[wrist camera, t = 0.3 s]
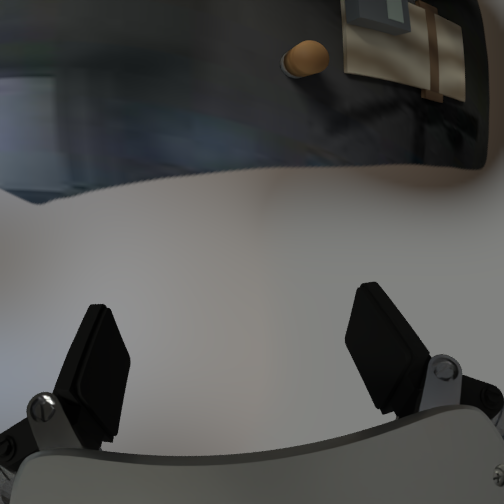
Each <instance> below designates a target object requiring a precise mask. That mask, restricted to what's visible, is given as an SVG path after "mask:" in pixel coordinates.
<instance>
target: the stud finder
mask: <svg viewBox="0 0 504 504" xmlns="http://www.w3.org/2000/svg"><path fill="white" fill-rule="evenodd" d="M345 8H346V21H347V24H351V25H356V26H360V27H365V28H369V29H373V30H377V31H380V32H384V33H388V34H391V35H394V36H397V35H401V34H405V33H409V32H411V25H410V16H409V8H408V0H345Z"/></svg>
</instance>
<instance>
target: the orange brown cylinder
mask: <svg viewBox="0 0 504 504" xmlns="http://www.w3.org/2000/svg"><path fill="white" fill-rule="evenodd" d="M328 63H329V54H328V52H327V50H326V49H325V47H324V46H323V45H321V44H320V43H318V42H316V41H310V40H309V41H304V42H301V43H300V44H298V45H297V46H295V47H294V48H292V49H291V50H290V51H288V52H287V53H285V54H284V55H283V56H282V58H281V60H280V67H281V70H282V71H283V73H284V74H285V75H287V76H288V77H291V78H302V77H305V76H308V75H312V74H315V73H319V72H321V71H323V70H324V69H325V68H326V67H327V66H328Z"/></svg>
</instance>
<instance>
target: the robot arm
mask: <svg viewBox="0 0 504 504" xmlns="http://www.w3.org/2000/svg"><path fill="white" fill-rule="evenodd" d="M345 343H346V346H347V348H348V350H349V352H350V354H351V356H352V358H353V360H354V362H355V365H356V367H357V369H358V371H359V373H360V375H361V377H362V379H363V381H364V383H365V385H366V388H367V390H368V392H369V394H370V396H371V398H372V401H373V403H374V405H375V407H376V408H377V409H380V410H381V412H382V414H387V413H390V412H393V411H394V412H395V414H396V420H394V421H391V422H388V423H385V424H382V425H379V426H376V427H372V428H369V429H366V430H362V431H359V432H356V433H352V434H348V435H345V436H341V437H337V438H333V439H328V440H324V441H320V442H315V443H310V444H305V445H300V446H294V447H289V448H283V449H276V450H270V451H262V452H253V453H243V454H231V455H214V456H156V455H138V454H127V453H117V452H107V451H102V449H101V448H100V447H101V444H102V441H104V442H113V438H114V436H116V435H117V433H118V428H119V422H120V416H121V410H122V404H123V399H124V393H125V388H126V383H127V378H128V373H129V368H130V356H129V353H128V351H127V349H126V347H125V344H124V342H123V339H122V337H121V335H120V332H119V330H118V327H117V325H116V322H115V319H114V317H113V314H112V311H111V309H110V308H107V307H106V305H104V304H92V305H90V306H89V308H88V310H87V312H86V314H85V316H84V318H83V320H82V323H81V325H80V327H79V329H78V331H77V334H76V336H75V338H74V340H73V342H72V344H71V347H70V349H69V351H68V354H67V356H66V359H65V361H64V364H63V366H62V369H61V371H60V374H59V377H58V379H57V382H56V385H55V388H54V390H53V393H49V392H42V393H39V394H37V395H35V396H34V397H33V398H32V399H31V400H30V401H29V403H28V406H27V411H26V412H27V418H25V419H23V420H22V421H21V422H19V423H17V424H15V425H14V426H12V427H11V428H9V429H8V430H6V431H4V432H3V433H1V434H0V504H504V398H503V395H502V393H501V391H500V390H499V389H498V388H497V387H496V386H494V385H491V384H489V383H485V382H482V381H479V380H476V379H474V378H470V377H468V376H465V375H462V369H461V366H460V364H459V363H458V362H457V361H456V360H455V359H454V358H452V357H450V356H448V355H443V354H440V355H436V356H434V357H432V358H431V356H430V355H429V351H428V350H427V348H426V347H425V345H424V344H423V343H422V341H421V340H420V338H419V337H418V336H417V334H416V333H415V331H414V330H413V329H412V327H411V326H410V325H409V323H408V322H407V321H406V319H405V318H404V317H403V315H402V314H401V313H400V311H399V310H398V309H397V307H396V306H395V305H394V303H393V302H392V301H391V300H390V298H389V297H388V296H387V294H386V293H385V292H384V291H383V289H382V288H381V287H380V286H379V284H378V283H376V282H369V283H363V284H361V286H360V287H359V288H358V289H357V291H356V295H355V300H354V304H353V308H352V312H351V316H350V320H349V324H348V328H347V332H346V335H345Z"/></svg>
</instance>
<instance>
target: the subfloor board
mask: <svg viewBox="0 0 504 504" xmlns="http://www.w3.org/2000/svg"><path fill="white" fill-rule="evenodd" d="M340 3H341V15H342V31H343V52H344V73H348V74H355V75H361V76H366V77H372V78H377V79H382V80H387V81H392V82H396V83H400V84H405V85H409V86H412V87H416V88H420V89H421V98H425V99H428V100H432V101H436V102H440V103H443V95H444V96H447V97H450V98H453V99H455V100H458V101H462V102H465V64H464V49H463V39H462V30H461V27H460V26H458V25H456V24H455V23H453V22H451V21H449V20H447V19H445V18H443V17H441V16H439V15H438V11H437V8H436V7H433V6H431V5H429V4H427V3H425V2H422V1H420V0H418V1H415V4H416V5H413V4H411V3H408V8H409V16H410V25H411V32H409V33H405V34H401V35H397V36H394V35H391V34H388V33H384V32H380V31H377V30H373V29H369V28H365V27H360V26H356V25H351V24H347V21H346V8H345V0H340Z"/></svg>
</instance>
